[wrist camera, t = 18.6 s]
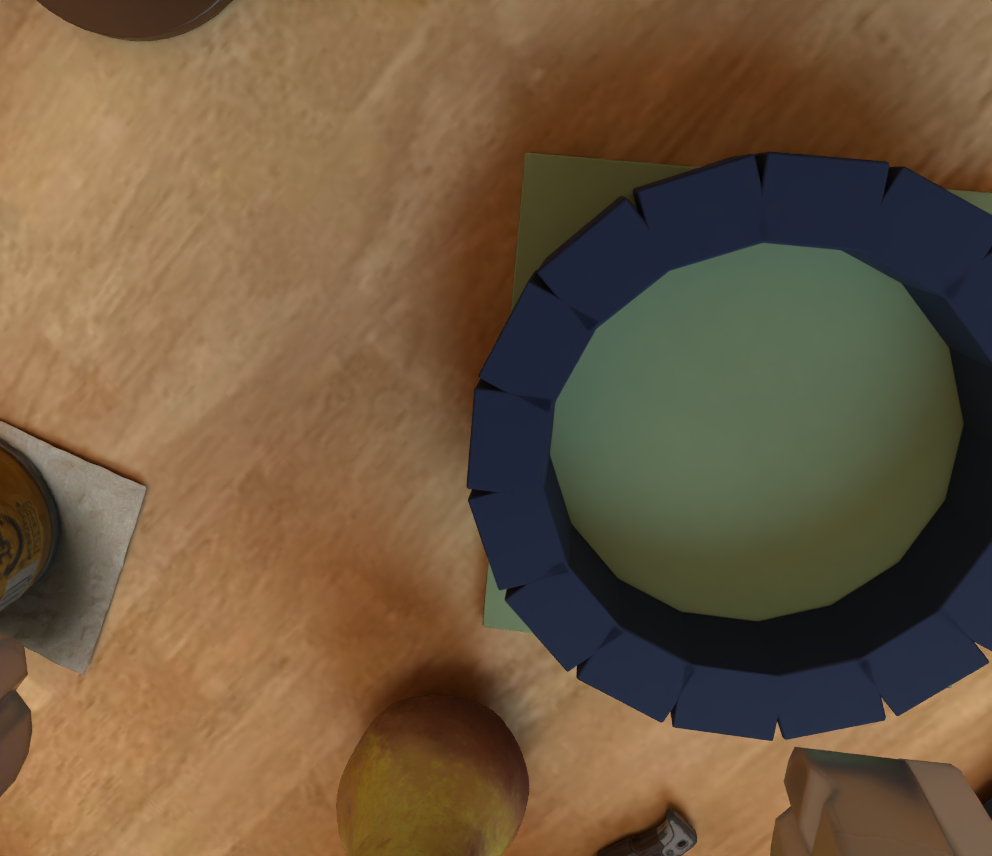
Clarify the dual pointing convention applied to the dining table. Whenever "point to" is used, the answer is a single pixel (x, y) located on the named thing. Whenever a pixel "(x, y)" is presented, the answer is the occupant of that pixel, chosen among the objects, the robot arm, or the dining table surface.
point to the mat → (742, 415)
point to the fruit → (433, 782)
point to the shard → (988, 807)
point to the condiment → (59, 546)
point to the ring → (720, 640)
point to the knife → (658, 840)
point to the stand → (136, 16)
